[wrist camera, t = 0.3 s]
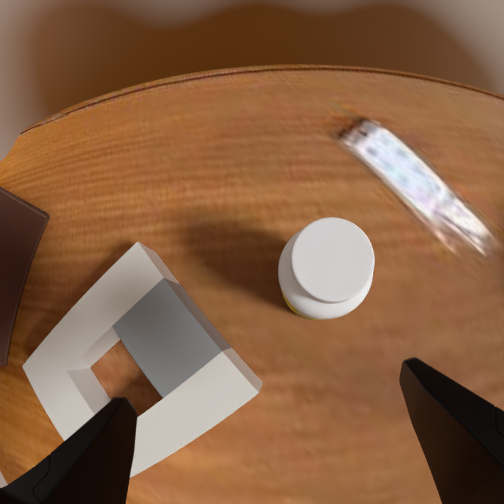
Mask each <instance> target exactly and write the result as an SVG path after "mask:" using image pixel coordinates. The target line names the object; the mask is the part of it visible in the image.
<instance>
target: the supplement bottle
mask: <svg viewBox="0 0 504 504" xmlns="http://www.w3.org/2000/svg"><path fill="white" fill-rule="evenodd" d="M374 261H375V260H374V252H373V248H372V245H371V243H370V241H369V239H368V237H367V236H366V234H365V233H364V232H363V231H362V230H361V229H360V228H359V227H358V226H356V225H355V224H353V223H351V222H349V221H347V220H344V219H341V218H323V219H319V220H316V221H314V222H312V223H310V224H309V225H307V226H306V227H305V228H304V229H302V230H300V231H299V232H297V233H296V234H295V235H294V236H293V237H292V238H291V239H290V240H289V241H288V242H287V244H286V245H285V247H284V249H283V251H282V253H281V256H280V260H279V266H278V278H279V283H280V287H281V291H282V295H283V298H284V300H285V302H286V304H287V305H288V306H289V308H290V309H291V310H292V311H293V312H294V313H296V314H297V315H299V316H301V317H303V318H305V319H310V320H324V319H332V318H337V317H340V316H343V315H345V314H347V313H349V312H351V311H352V310H353V309H355V308H356V307H357V306H358V305H359V304H360V303H361V302H362V301H363V300H364V298H365V297H366V295H367V293H368V291H369V289H370V286H371V283H372V277H373V270H374Z"/></svg>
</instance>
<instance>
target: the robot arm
mask: <svg viewBox="0 0 504 504" xmlns="http://www.w3.org/2000/svg"><path fill="white" fill-rule="evenodd" d="M399 380H400V386H401V389H402V392H403V395H404V399H405V402H406V405H407V409H408V412H409V416H410V419H411V422H412V425H413V428H414V430H415V432H416V435H417V437H418V440H419V442H420V445H421V447H422V450H423V452H424V455H425V457H426V460H427V463H428V465H429V468H430V470H431V473H432V476H433V479H434V481H435V484H436V487H437V490H438V493H439V496H440V499H441V502H442V504H504V411H503V410H501V409H499V408H498V407H495V406H494V405H493V404H491V403H489V402H488V401H486V400H485V399H483V398H481V397H480V396H478V395H476V394H475V393H473V392H471V391H470V390H468V389H467V388H465V387H463V386H462V385H460V384H458V383H457V382H455V381H454V380H452V379H450V378H449V377H447V376H445V375H444V374H442V373H441V372H439V371H437V370H436V369H434V368H432V367H431V366H429V365H427V364H426V363H424V362H423V361H421V360H419V359H418V358H415V357H413V358H409V359H406V360H404V361H403V363H402V367H401V373H400V379H399ZM136 427H137V413H136V411H135V409H134V408H133V406H132V405H131V403H130V402H129V401H128V399H127V398H125V397H115V398H113V399H112V400H111V401H110V402H109V403H107V404H106V405H105V406H104V407H103V408H102V409H101V410H100V411H98V412H97V413H96V414H95V415H94V416H93V417H92V418H91V419H89V420H88V421H87V422H86V423H85V424H84V425H83V426H81V427H80V428H79V429H78V430H77V431H76V432H75V433H73V434H72V435H71V436H70V437H69V438H68V439H67V440H65V441H64V442H63V443H62V444H61V445H60V446H58V447H57V448H56V449H55V450H54V451H53V452H51V455H50V454H49V455H48V456H47V457H46V458H44V459H43V460H42V461H41V462H40V463H38V464H37V465H36V466H35V467H33V468H32V469H31V470H29V471H28V472H26V473H25V474H23V475H22V476H21V477H19V478H18V479H16V480H15V481H13V482H12V483H10V484H9V485H7V486H5V487H3V488H0V504H126V497H127V491H128V485H129V479H130V474H131V468H132V463H133V457H134V450H135V438H136Z"/></svg>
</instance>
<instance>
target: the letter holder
mask: <svg viewBox="0 0 504 504" xmlns="http://www.w3.org/2000/svg"><path fill="white" fill-rule="evenodd" d="M49 217H50V216H49V215H48V214H47V213H46V212H44V211H42V210H40V209H39V208H37V207H35V206H33V205H31V204H30V203H28V202H26V201H24V200H22V199H21V198H19V197H17V196H16V195H14V194H12V193H10V192H8V191H7V190H5V189H3V188H2V187H0V366H4V365H7V358H8V352H9V346H10V340H11V335H12V331H13V326H14V322H15V317H16V313H17V309H18V306H19V302H20V298H21V295H22V291H23V288H24V285H25V281H26V278H27V275H28V272H29V269H30V266H31V263H32V260H33V257H34V255H35V252H36V249H37V246H38V244H39V241H40V239H41V236H42V234H43V231H44V229H45V226H46V224H47V222H48V219H49Z"/></svg>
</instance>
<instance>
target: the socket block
mask: <svg viewBox="0 0 504 504" xmlns="http://www.w3.org/2000/svg"><path fill="white" fill-rule="evenodd" d="M120 339H121V341H122V342H123V344H124V345H125V347H126V348H127V350H128V351H129V353H130V354H131V356H132V357H133V359H134V360H135V361H136V363H137V364H138V366H139V367H140V368H141V370H142V371H143V372H144V374H145V375H146V377H147V378H148V379H149V381H150V382H151V383H152V384H153V386H154V387H155V388H156V390H157V391H158V392H159V393H160V395H161V396H162V397H163V399H162V400H160V401H159V402H158V403H156V404H155V405H154V406H152V407H151V408H150V409H148V410H147V411H146V412H144V413H143V414H142V415H140V416H139V417H138V418H137V427H136V438H135V450H134V457H133V463H132V468H131V474H130V478H131V477H133V476H134V475H136V474H138V473H140V472H142V471H143V470H145V469H147V468H149V467H150V466H152V465H154V464H156V463H157V462H159V461H161V460H162V459H164V458H166V457H167V456H169V455H171V454H172V453H174V452H176V451H177V450H179V449H180V448H182V447H183V446H185V445H187V444H188V443H190V442H191V441H193V440H194V439H196V438H197V437H199V436H200V435H202V434H203V433H205V432H206V431H208V430H209V429H211V428H212V427H213V426H215V425H216V424H218V423H219V422H221V421H222V420H223V419H225V418H226V417H228V416H229V415H230V414H232V413H233V412H234V411H236V410H237V409H238V408H240V407H241V406H242V405H244V404H245V403H246V402H248V401H249V400H250V399H252V398H253V397H254V396H256V395H257V394H258V393H259V392H260V389H261V387H262V384H263V382H262V381H261V380H260V379H259V378H258V377H257V376H256V374H255V373H254V372H253V371H252V370H251V369H250V368H249V367H248V366H247V364H246V363H245V362H244V361H243V360H242V359H241V358H240V356H239V355H238V354H237V353H236V352H235V351H234V350H233V348H232V347H231V346H230V345H229V344H228V343H227V341H226V340H225V339H224V338H223V337H222V336H221V334H220V333H219V332H218V331H217V330H216V328H215V327H214V326H213V325H212V324H211V322H210V321H209V320H208V319H207V317H206V316H205V315H204V314H203V313H202V311H201V310H200V309H199V308H198V306H197V305H196V304H195V303H194V301H193V300H192V299H191V298H190V296H189V295H188V294H187V293H186V291H185V290H184V289H183V287H182V286H181V285H180V284H179V282H178V281H177V280H176V278H175V277H174V276H173V274H172V273H171V272H170V270H169V269H168V268H167V266H166V265H165V264H164V262H163V261H162V260H161V258H160V257H159V256H158V254H157V253H156V252H155V251H153V250H151V249H150V248H148V247H146V246H145V245H143V244H141V243H140V242H136V243H135V244H134V245H133V246H132V247H131V248H130V249H129V250H128V251H127V252H126V253H125V254H124V255H123V256H122V257H121V258H120V259H119V260H118V261H117V262H116V263H115V264H114V265H113V266H112V267H111V268H110V269H109V270H108V271H107V272H106V273H105V274H104V275H103V276H102V277H101V278H100V279H99V280H98V281H97V282H96V283H95V284H94V285H93V286H92V287H91V288H90V289H89V290H88V291H87V292H86V293H85V294H84V296H83V297H82V298H81V299H80V300H79V301H78V302H77V303H76V304H75V305H74V306H73V307H72V308H71V310H70V311H69V312H68V313H67V314H66V315H65V316H64V317H63V318H62V320H61V321H60V322H59V323H58V324H57V325H56V326H55V328H54V329H53V330H52V331H51V332H50V333H49V334H48V336H47V337H46V338H45V339H44V340H43V342H42V343H41V344H40V345H39V346H38V347H37V349H36V350H35V351H34V352H33V354H32V355H31V356H30V357H29V359H28V360H27V361H26V362H25V364H24V365H23V366H22V367H23V369H24V371H25V373H26V375H27V377H28V379H29V381H30V383H31V385H32V387H33V389H34V391H35V393H36V395H37V397H38V399H39V400H40V402H41V404H42V406H43V407H44V409H45V411H46V413H47V414H48V416H49V418H50V419H51V421H52V423H53V424H54V426H55V427H56V429H57V430H58V432H59V434H60V435H61V437H62V438H63V440H64V441H65V440H67V439H68V438H69V437H70V436H71V435H72V434H73V433H75V432H76V431H77V430H78V429H79V428H80V427H81V426H83V425H84V424H85V423H86V422H87V421H88V420H89V419H91V418H92V417H93V416H94V415H95V414H96V413H97V412H98V411H100V410H101V409H102V408H103V407H104V406H105V405H106V404H107V403H109V402H110V401H111V399H110V397H109V396H108V394H107V393H106V392H105V390H104V389H103V387H102V386H101V384H100V383H99V381H98V379H97V378H96V376H95V375H94V373H93V372H92V370H91V368H90V367H91V366H92V365H93V364H94V363H96V362H97V361H98V360H99V359H100V358H101V357H102V356H103V355H104V354H105V353H106V352H107V351H108V350H109V349H110V348H112V347H113V346H114V345H115V344H116V343H117V342H118V341H119V340H120Z"/></svg>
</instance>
